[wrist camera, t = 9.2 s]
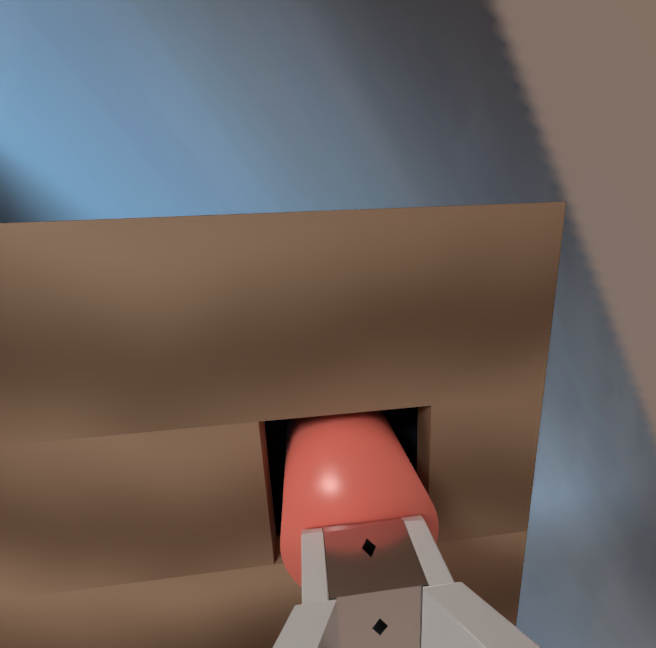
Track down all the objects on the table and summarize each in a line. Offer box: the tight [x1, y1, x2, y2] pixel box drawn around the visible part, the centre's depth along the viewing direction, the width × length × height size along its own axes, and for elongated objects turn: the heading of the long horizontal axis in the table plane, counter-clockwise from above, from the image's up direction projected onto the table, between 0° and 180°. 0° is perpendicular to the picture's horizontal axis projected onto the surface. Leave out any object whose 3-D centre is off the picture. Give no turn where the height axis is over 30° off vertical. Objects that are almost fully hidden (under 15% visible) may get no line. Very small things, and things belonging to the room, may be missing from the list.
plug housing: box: [0, 202, 566, 648], centre depth 12 cm, size 16×26×6 cm, turn 93°
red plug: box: [280, 410, 439, 587], centre depth 11 cm, size 4×4×6 cm
